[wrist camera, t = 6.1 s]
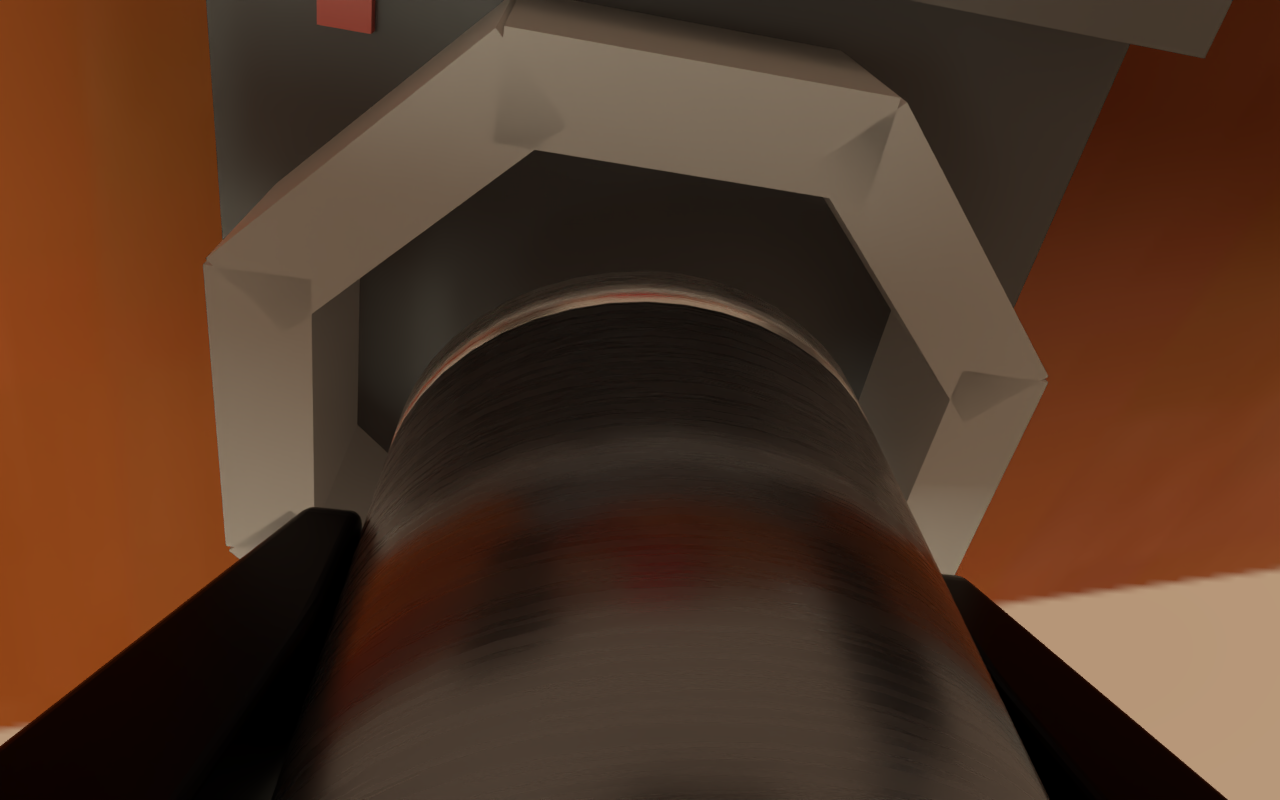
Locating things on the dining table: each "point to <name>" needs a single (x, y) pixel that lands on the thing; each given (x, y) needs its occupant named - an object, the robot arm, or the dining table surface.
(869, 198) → the camera body
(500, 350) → the lens
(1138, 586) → the dining table surface
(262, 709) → the robot arm
